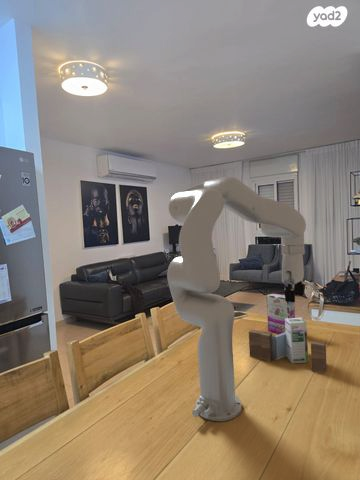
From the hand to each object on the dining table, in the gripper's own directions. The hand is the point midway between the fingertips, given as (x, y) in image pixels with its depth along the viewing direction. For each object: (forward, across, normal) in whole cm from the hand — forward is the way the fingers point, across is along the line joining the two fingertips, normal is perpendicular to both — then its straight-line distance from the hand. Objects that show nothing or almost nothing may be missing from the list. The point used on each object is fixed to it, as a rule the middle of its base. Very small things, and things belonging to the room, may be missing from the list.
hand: (294, 298), depth 110 cm
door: (+22, -1, -4) cm, 22 cm away
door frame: (+22, +5, -2) cm, 23 cm away
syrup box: (+22, 0, 0) cm, 22 cm away
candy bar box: (+22, -22, -13) cm, 34 cm away
